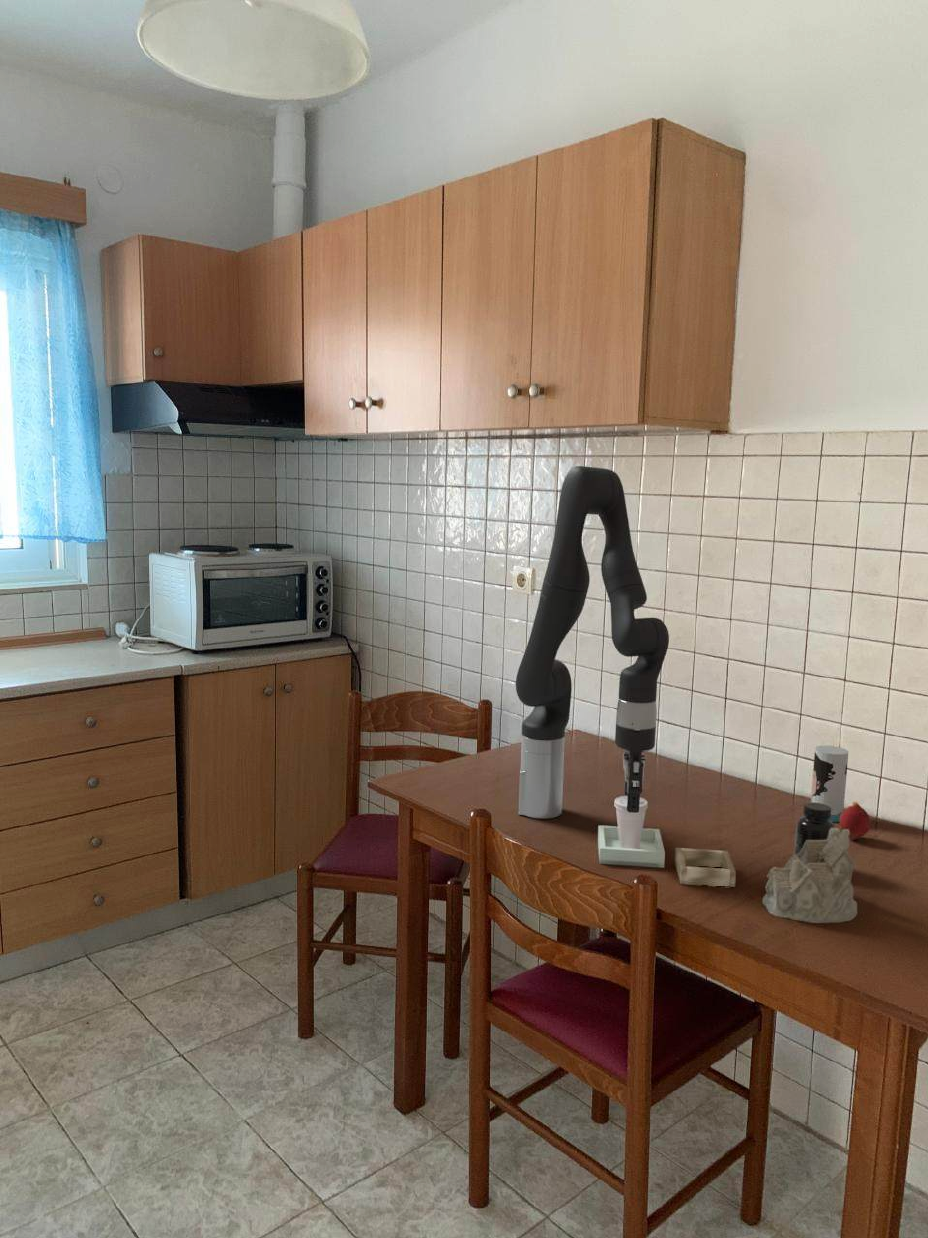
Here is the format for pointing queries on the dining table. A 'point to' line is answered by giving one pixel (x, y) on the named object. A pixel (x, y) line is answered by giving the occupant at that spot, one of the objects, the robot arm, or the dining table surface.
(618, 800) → the smoothie
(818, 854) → the ceramic cottage
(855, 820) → the onion
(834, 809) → the cup
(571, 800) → the dining table surface
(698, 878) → the rectangular wooden frame
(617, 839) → the tray
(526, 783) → the robot arm
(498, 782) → the dining table surface
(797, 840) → the supplement bottle
